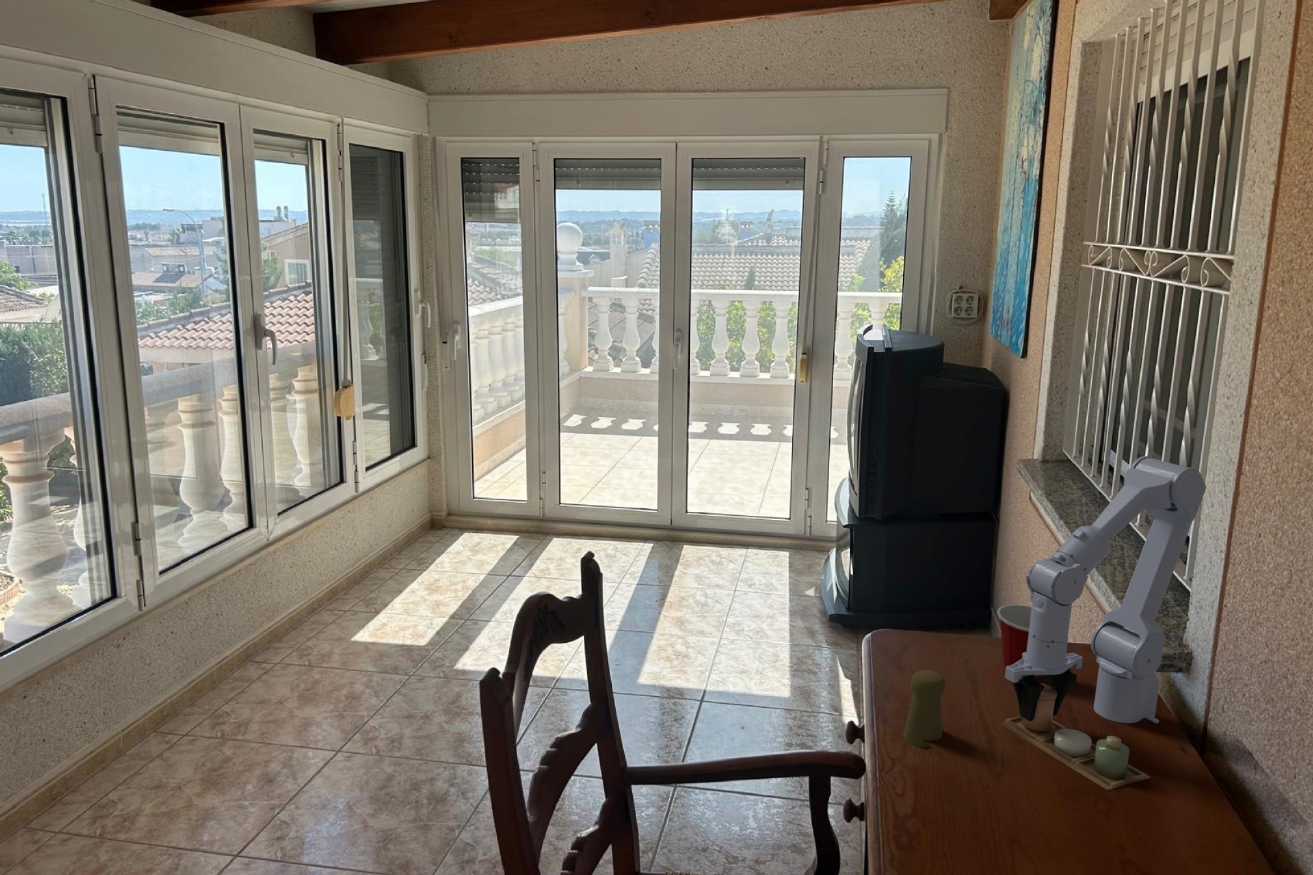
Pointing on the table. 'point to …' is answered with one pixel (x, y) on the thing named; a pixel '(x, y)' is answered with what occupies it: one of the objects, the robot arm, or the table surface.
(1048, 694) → the spice jar
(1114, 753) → the green jar
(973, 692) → the table surface
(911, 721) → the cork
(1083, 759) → the tray
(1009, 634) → the plastic cup
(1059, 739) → the white rounded disc
